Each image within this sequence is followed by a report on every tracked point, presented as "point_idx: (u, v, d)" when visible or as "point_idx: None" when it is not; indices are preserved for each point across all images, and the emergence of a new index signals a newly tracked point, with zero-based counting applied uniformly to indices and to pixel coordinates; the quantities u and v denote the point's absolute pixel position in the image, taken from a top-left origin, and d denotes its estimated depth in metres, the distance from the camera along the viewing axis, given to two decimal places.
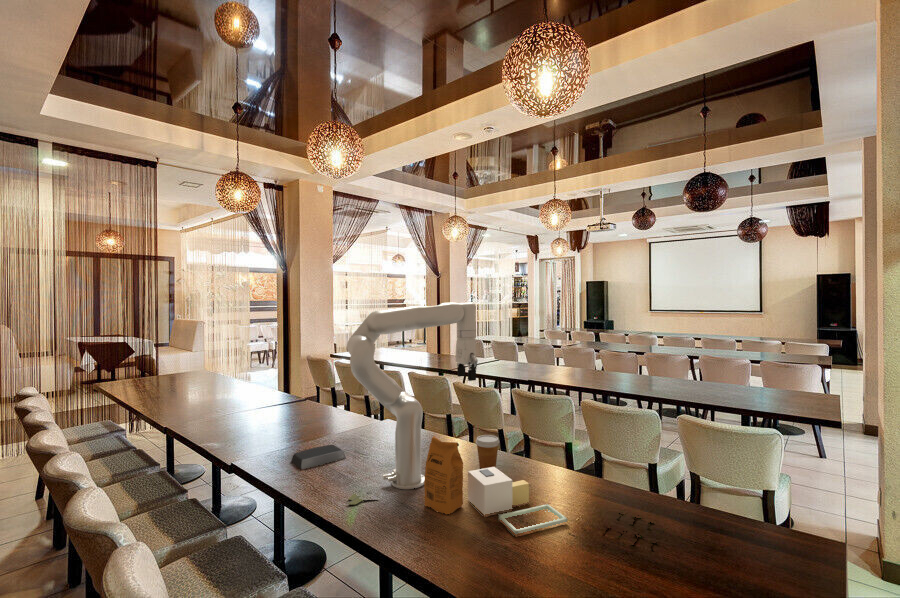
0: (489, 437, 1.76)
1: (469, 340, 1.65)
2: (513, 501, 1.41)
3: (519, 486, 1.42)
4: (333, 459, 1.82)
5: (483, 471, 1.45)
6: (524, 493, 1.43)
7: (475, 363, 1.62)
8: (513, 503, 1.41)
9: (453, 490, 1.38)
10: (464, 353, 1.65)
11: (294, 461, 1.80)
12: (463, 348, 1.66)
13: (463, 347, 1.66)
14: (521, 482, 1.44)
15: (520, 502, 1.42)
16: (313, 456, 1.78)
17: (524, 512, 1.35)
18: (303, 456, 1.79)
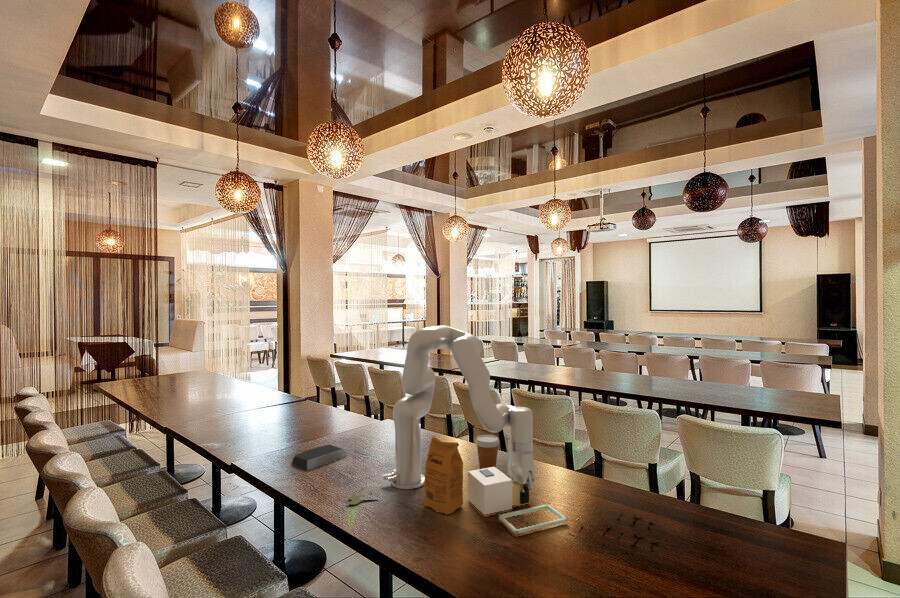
0: (489, 437, 1.76)
1: (526, 455, 1.40)
2: (513, 501, 1.41)
3: (519, 486, 1.42)
4: (336, 458, 1.83)
5: (483, 471, 1.45)
6: None
7: (530, 488, 1.39)
8: (513, 503, 1.41)
9: (453, 490, 1.38)
10: (520, 471, 1.39)
11: (296, 463, 1.78)
12: (519, 464, 1.40)
13: (519, 463, 1.40)
14: None
15: None
16: (317, 456, 1.78)
17: (524, 512, 1.35)
18: (306, 457, 1.77)
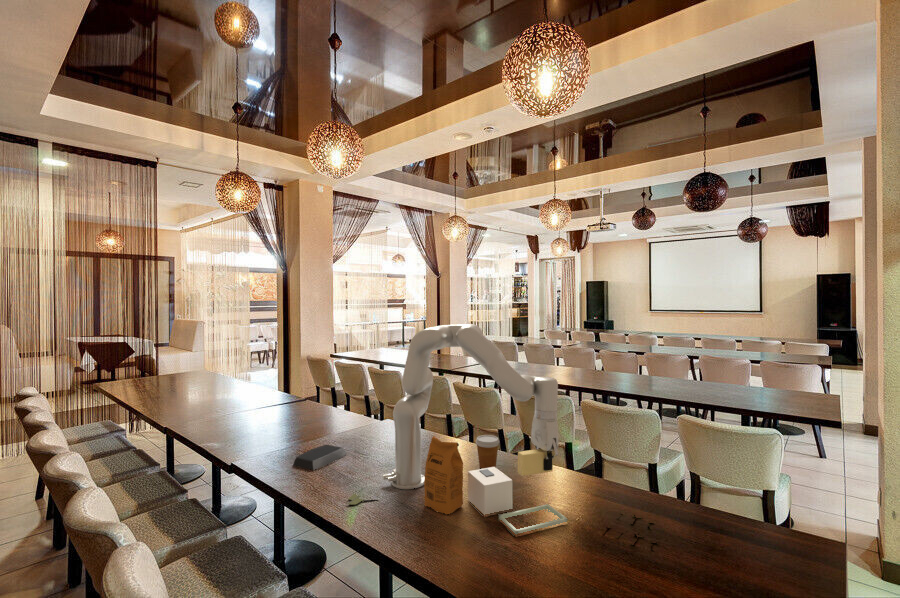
0: (489, 437, 1.76)
1: (551, 423, 1.43)
2: (538, 467, 1.45)
3: (544, 453, 1.46)
4: (338, 457, 1.84)
5: (483, 471, 1.45)
6: None
7: (554, 455, 1.43)
8: (537, 469, 1.45)
9: (453, 490, 1.38)
10: (545, 438, 1.43)
11: (299, 464, 1.76)
12: (544, 432, 1.44)
13: (544, 431, 1.44)
14: None
15: None
16: (320, 456, 1.78)
17: (524, 512, 1.35)
18: (310, 458, 1.77)
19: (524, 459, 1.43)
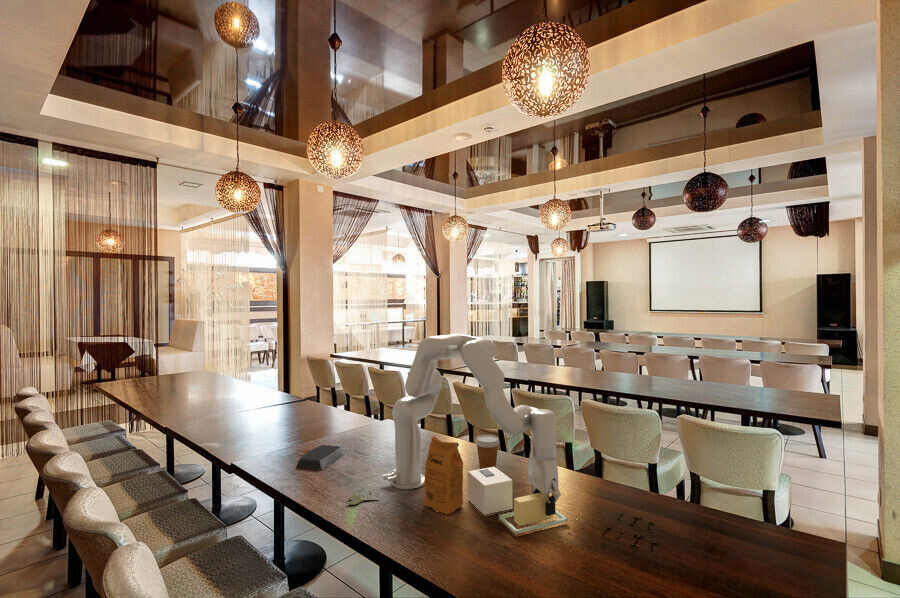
0: (489, 437, 1.76)
1: (550, 462, 1.29)
2: (536, 515, 1.31)
3: (543, 498, 1.31)
4: (339, 456, 1.86)
5: (483, 471, 1.45)
6: None
7: (557, 497, 1.27)
8: (536, 517, 1.31)
9: (453, 490, 1.38)
10: (543, 479, 1.29)
11: (304, 465, 1.75)
12: (542, 472, 1.29)
13: (542, 471, 1.29)
14: (544, 494, 1.34)
15: (544, 515, 1.32)
16: (325, 455, 1.79)
17: None
18: (315, 458, 1.76)
19: (521, 507, 1.28)
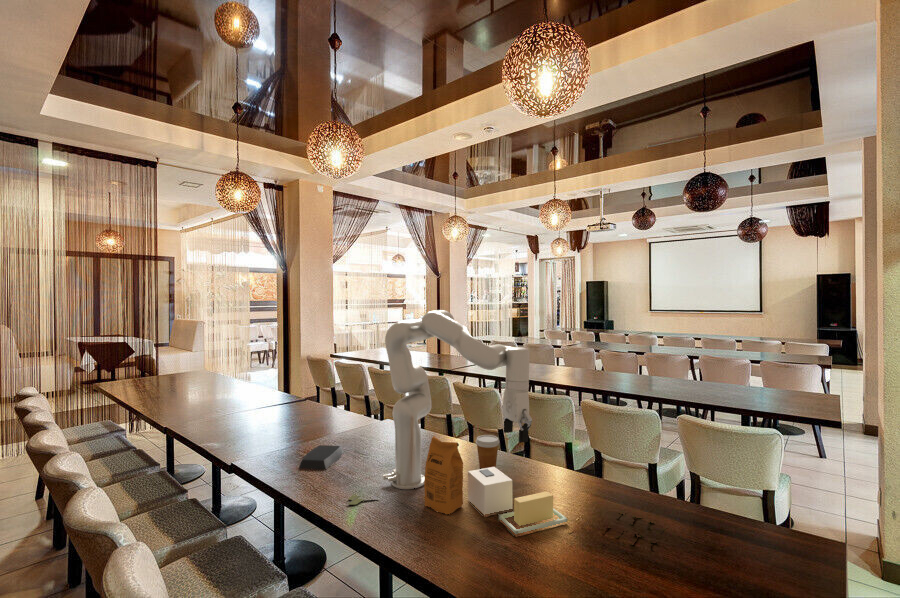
0: (489, 437, 1.76)
1: (521, 394, 1.38)
2: (536, 515, 1.31)
3: (543, 498, 1.31)
4: (340, 455, 1.86)
5: (483, 471, 1.45)
6: (548, 506, 1.32)
7: (529, 423, 1.35)
8: (536, 517, 1.31)
9: (453, 490, 1.38)
10: (515, 409, 1.38)
11: (307, 466, 1.74)
12: (514, 403, 1.39)
13: (514, 402, 1.39)
14: (544, 494, 1.34)
15: (544, 515, 1.32)
16: (327, 455, 1.79)
17: None
18: (318, 458, 1.76)
19: (521, 507, 1.28)
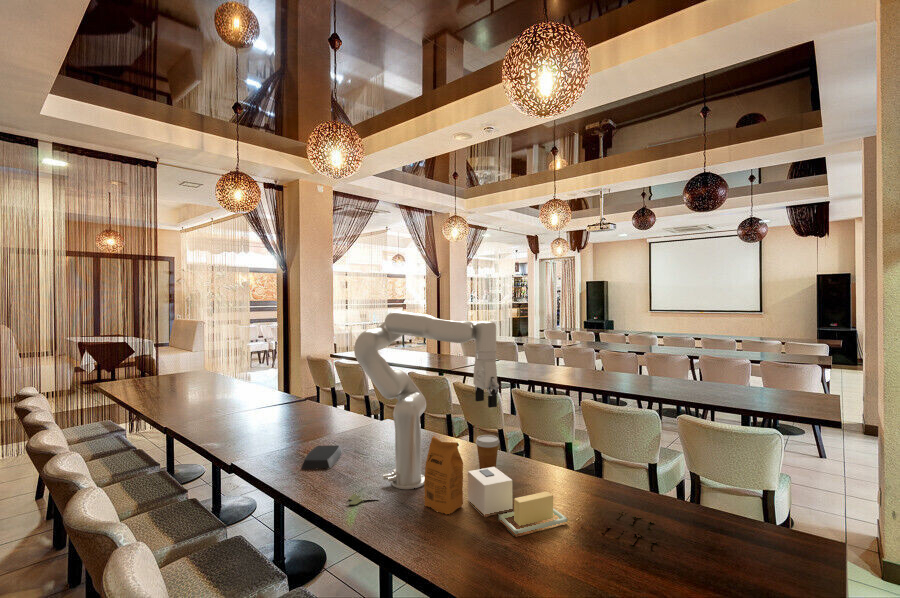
0: (489, 437, 1.76)
1: (489, 363, 1.51)
2: (536, 515, 1.31)
3: (543, 498, 1.31)
4: (340, 454, 1.87)
5: (483, 471, 1.45)
6: (548, 506, 1.32)
7: (496, 388, 1.48)
8: (536, 517, 1.31)
9: (453, 490, 1.38)
10: (484, 377, 1.51)
11: (310, 466, 1.74)
12: (483, 371, 1.51)
13: (483, 370, 1.51)
14: (544, 494, 1.34)
15: (544, 515, 1.32)
16: (329, 455, 1.80)
17: None
18: (320, 458, 1.76)
19: (521, 507, 1.28)
